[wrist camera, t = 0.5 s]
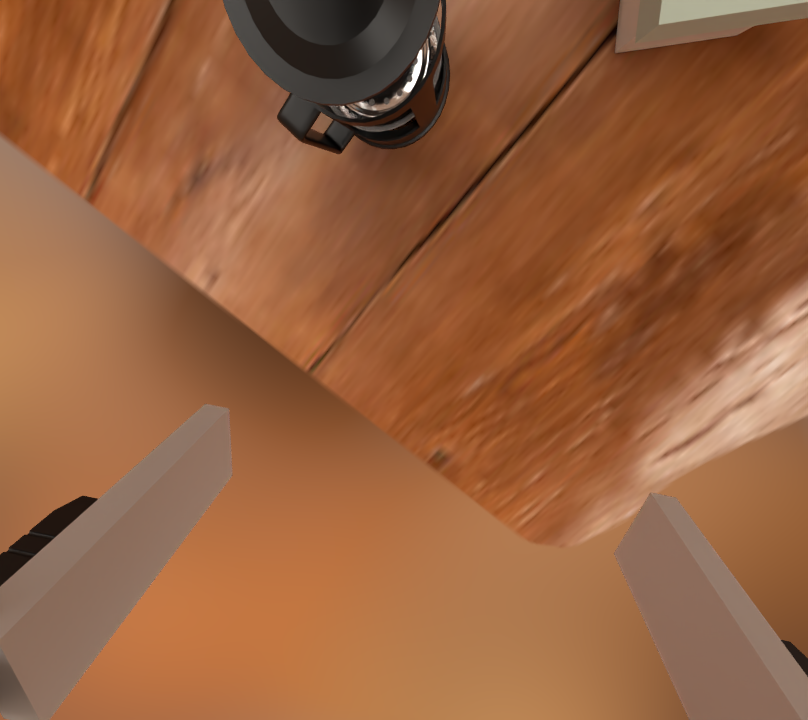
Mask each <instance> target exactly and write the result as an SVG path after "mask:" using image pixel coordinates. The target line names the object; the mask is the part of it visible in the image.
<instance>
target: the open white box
mask: <svg viewBox="0 0 808 720" xmlns="http://www.w3.org/2000/svg"><path fill="white" fill-rule="evenodd" d="M639 5H640V0H620V6H619V16H618V26H617V35H616V45H615V53H621V52H628V51H634V50H641V49H648V48H655V47H662V46H668V45H675V44H682V43H689V42H696V41H702V40H709V39H716V38H723V37H730V36H736V35H738V34H740V33H742V32H744V31H746V30H748V29H750V28H751V27H753V26H749V27H743V28H736V29H729V30H722V31H716V32H709V33H702V34H696V35H689V36H682V37H676V38H669V39H662V40H655V41H649V42H642V43H635V39H636V30H637V22H638V14H639Z"/></svg>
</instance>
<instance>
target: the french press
mask: <svg viewBox="0 0 808 720" xmlns="http://www.w3.org/2000/svg"><path fill="white" fill-rule="evenodd" d="M223 2H224V6H225V9H226V11H227V14H228V16H229V19H230V21H231V23H232V26H233V28H234V30H235V33H236V35H237V36H238V38H239V40H240V41H241V43H242V44H243V46H244V48H245V49H246V51H247V53H248V54H249V56H250V57H251V58H252V59H253V60H254V62H255V63H256V64H257V65H258V66H259V67H260V69H261V70H262V71H263V72H264V73H265V74H266V75H267V76H268V77H269V78H271V79H272V80H273V81H274V82H275V83H277V84H278V85H279V86H280V87H282V88H283V89H285V90H286V91H288V92H290V95H289V97H288V98H287V100H286V102H285V103H284V105H283V107H282V108H281V110H280V112H279V113H278V115H277V119H278V120H279V122H280V123H281V124H282V125H283V126H284V127H286V128H287V129H288V130H289V131H290V132H291V133H292V134H293V135H294V136H295V137H296V138H297V139H298V140H299V141H301V142H303V143H306V144H309V145H312V146H315V147H318V148H321V149H324V150H327V151H330V152H333V153H336V154H341V153H342V151H343V150H344V149H345V147H346V146H347V144H348V143H349V142H350V140H351V139H352V137H353V136H354V135H356V136H357V137H358V138H359V139H360V140H362V141H364V142H366V143H368V144H369V145H371V146H375V147H378V148H382V149H397V148H402V147H406V146H408V145H410V144H413V143H415V142H416V141H418V140H419V139H420V138H422V137H423V136H425V135H426V133H427V132H428V131H429V130H430V129H431V128H432V127H433V126H434V124H435V123H436V121H437V120H438V118H439V117H440V115H441V112H442V110H443V108H444V105H445V103H446V99H447V95H448V91H449V81H450V69H449V58H448V55H447V51H446V47H445V43H444V41H445V30H446V0H441V4H442V21H441V29H440V26H439V22H438V18H437V12H438V7H439V3H440V0H223ZM328 105H329V106H330V107H329V106H328ZM321 112H322V113H324V114H325V115H327V116H328V117H330V118H332V119H333V121H332V123H331V124H330V126H329V127H328V129H327V130H326V131H325V133H324V134H322V133H319V132H317V131H315V130H313V129H310V128H311V127H312V125H313V124H314V122H315V121H316V119H317V118H318V116H319V115H320V113H321ZM413 117H415V118H416V119H415V120H414V121H413V122H412V123H410V124H409V125H408V126H405V127H403V128H401V129H397V130H392V129H394V128H397V127H399V126H401V125H404V124H405V123H406V122H408V121H409V120H411V119H412V118H413ZM390 130H392V131H390Z"/></svg>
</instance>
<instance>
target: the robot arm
mask: <svg viewBox="0 0 808 720" xmlns="http://www.w3.org/2000/svg"><path fill="white" fill-rule="evenodd" d="M229 419H230V418H229V409H228V408H224V407H218V406H214V405H209V404H205V405H203V406H202V407H201V408H200V409H199V410H198V411H197V412H196V413H194V414H193V415H192V416H191V417H190V418H189V419H188V420H187V421H186V422H184V424H182V425H181V426H180V427H179V428H178V429H176V430H175V431H174V432H173V433H172V434H171V435H170V436H169V437H167V438H166V439H165V440H164V441H163V442H162V443H161V444H160V445H158V446H157V447H156V448H155V449H154V450H153V451H152V452H151V453H149V454H148V455H147V456H146V457H145V458H144V459H143V460H142V461H141V462H140V463H138V464H137V465H136V466H135V467H134V468H133V469H132V470H130V472H128V473H127V474H126V475H125V476H124V477H123V478H121V479H120V480H119V481H118V482H117V483H116V484H115V485H114V486H112V487H111V488H110V489H109V490H108V491H107V492H106V493H105V494H104V495H102V496H101V497H100V498H99V499H96V498H91V497H87V496H81V497H79V498H77V499H75V500H73V501H72V502H70V503H68V504H66V505H64V506H62V507H60V508H58V509H56V510H54V511H53V512H52V513H51V514H49V515H48V516H47V517H46V518H44V519H43V520H42V521H41V522H40V523H38V524H37V525H36V526H35V527H33V528H32V529H31V530H30V532H29V534H28V535H24V536H22V537H21V538H20V539H19V540H18V541H16V542H15V543H14V544H13V545H12V546H10V547H9V550H8V551H7V552H3V553H2V554H1V555H0V713H1V715H2V716H3V718H4V719H9V720H50V718H51V717H52V716H53V714H54V713H55V712H56V710H57V709H58V708H59V706H60V705H61V704H62V702H63V701H64V700H65V698H66V697H67V696H68V694H69V693H70V692H71V690H72V689H73V688H74V686H75V685H76V684H77V682H78V681H79V680H80V678H81V677H82V676H83V674H84V673H85V672H86V670H87V669H88V668H89V666H90V665H91V664H92V662H93V661H94V659H95V658H96V657H97V656H98V654H99V653H100V652H101V650H102V649H103V648H104V646H105V645H106V644H107V642H108V641H109V640H110V638H111V637H112V636H113V634H114V633H115V632H116V630H117V629H118V628H119V626H120V625H121V623H122V622H123V621H124V619H125V618H126V617H127V616H128V614H129V613H130V612H131V610H132V609H133V607H134V606H135V605H136V603H137V602H138V601H139V599H140V598H141V597H142V596H143V594H144V593H145V592H146V590H147V589H148V587H149V586H150V585H151V583H152V582H153V581H154V580H155V578H156V577H157V575H158V574H159V573H160V571H161V570H162V569H163V567H164V566H165V565H166V563H167V562H168V561H169V559H170V558H171V557H172V555H173V554H174V553H175V551H176V550H177V549H178V547H179V546H180V545H181V543H182V542H183V541H184V539H185V538H186V537H187V535H188V534H189V533H190V531H191V530H192V529H193V527H194V526H195V525H196V523H197V522H198V521H199V519H200V518H201V517H202V515H203V514H204V513H205V511H206V510H207V509H208V507H209V506H210V505H211V503H212V502H213V501H214V499H215V498H216V497H217V495H218V494H219V493H220V491H221V490H222V489H223V487H224V486H225V485H226V483H227V482H228V481H229V479H230V478H231V476H232V461H231V438H230V420H229ZM614 555H615V557H616V559H617V561H618V564H619V566H620V568H621V570H622V572H623V575H624V577H625V579H626V581H627V583H628V586H629V588H630V590H631V592H632V594H633V597H634V599H635V601H636V603H637V605H638V608H639V610H640V612H641V614H642V617H643V619H644V621H645V623H646V625H647V628H648V630H649V632H650V634H651V636H652V639H653V641H654V643H655V644H656V647H657V650H658V652H659V654H660V656H661V658H662V661H663V663H664V665H665V667H666V669H667V672H668V674H669V676H670V678H671V680H672V683H673V685H674V687H675V689H676V691H677V694H678V696H679V698H680V700H681V703H682V705H683V707H684V709H685V711H686V714H687V716H688V718H689V720H808V658H806V657H805V655H803V654H802V653H801V652H800V651H799V650H798V649H797V648H796V647H795V646H794V645H793V644H792V643H791V642H789V641H784V640H780V638H779V637H778V636H777V634H776V633H775V632H774V630H773V629H772V628H771V626H770V625H769V624H768V622H767V621H766V619H765V618H764V617H763V615H762V614H761V613H760V611H759V610H758V609H757V607H756V606H755V604H754V603H753V602H752V600H751V599H750V598H749V596H748V595H747V594H746V592H745V591H744V590H743V588H742V587H741V585H740V584H739V583H738V581H737V580H736V579H735V577H734V576H733V575H732V573H731V572H730V570H729V569H728V568H727V566H726V565H725V564H724V563H723V561H722V560H721V558H720V557H719V556H718V555H717V553H716V551H715V550H714V549H713V547H712V546H711V545H710V543H709V542H708V541H707V539H706V538H705V537H704V535H703V534H702V532H701V531H700V530H699V528H698V527H697V526H696V524H695V523H694V522H693V520H692V519H691V517H690V516H689V515H688V513H687V512H686V511H685V509H684V508H683V507H682V505H681V504H680V502H679V501H678V500H677V498H675V497H670V496H666V495H660V494H655V493H650V494H649V496H648V497H647V499H646V501H645V502H644V504H643V506H642V508H641V509H640V511H639V513H638V514H637V516H636V518H635V519H634V521H633V523H632V524H631V526H630V528H629V529H628V531H627V533H626V534H625V536H624V538H623V539H622V541H621V543H620V544H619V546H618V548H617V550H616V551H615V553H614Z"/></svg>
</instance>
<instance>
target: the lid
mask: <svg viewBox="0 0 808 720" xmlns="http://www.w3.org/2000/svg"><path fill="white" fill-rule="evenodd" d="M803 18H808V0H640V5H639V14H638V22H637V30H636V39H635V43H642V42H649V41H655V40H662V39H669V38H676V37H682V36H689V35H696V34H702V33H709V32H716V31H722V30H729V29H736V28H743V27H749V26H756V25H763V24H769V23H776V22H783V21H789V20H796V19H803Z"/></svg>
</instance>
